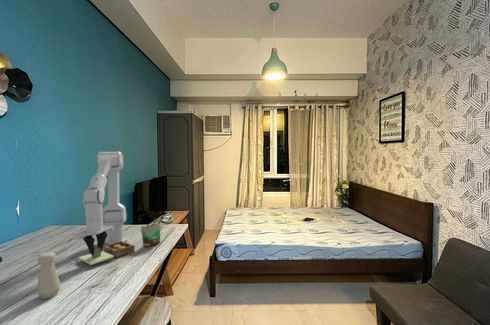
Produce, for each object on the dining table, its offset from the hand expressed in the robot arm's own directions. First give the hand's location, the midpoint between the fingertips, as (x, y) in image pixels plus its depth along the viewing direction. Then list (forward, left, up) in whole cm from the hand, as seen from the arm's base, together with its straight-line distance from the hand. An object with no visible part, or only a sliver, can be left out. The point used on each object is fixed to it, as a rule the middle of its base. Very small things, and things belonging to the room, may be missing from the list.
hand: (95, 252), depth 103 cm
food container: (+3, +25, -4) cm, 25 cm away
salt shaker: (+14, -20, -4) cm, 25 cm away
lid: (0, 0, -2) cm, 2 cm away
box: (-1, +10, -3) cm, 11 cm away
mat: (0, 0, -3) cm, 3 cm away
